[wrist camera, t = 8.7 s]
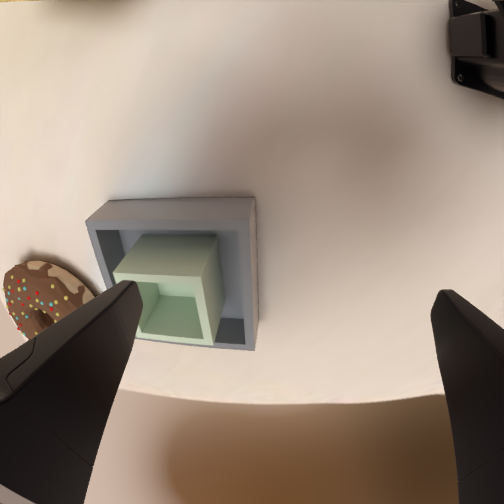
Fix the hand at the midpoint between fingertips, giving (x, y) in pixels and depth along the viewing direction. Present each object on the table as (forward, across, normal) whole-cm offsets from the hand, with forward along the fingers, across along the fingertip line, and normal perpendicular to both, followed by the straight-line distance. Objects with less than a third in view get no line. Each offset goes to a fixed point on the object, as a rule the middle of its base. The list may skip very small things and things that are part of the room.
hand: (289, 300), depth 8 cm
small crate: (+12, +8, +8) cm, 17 cm away
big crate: (+13, +8, +8) cm, 17 cm away
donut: (+14, +24, +14) cm, 31 cm away
